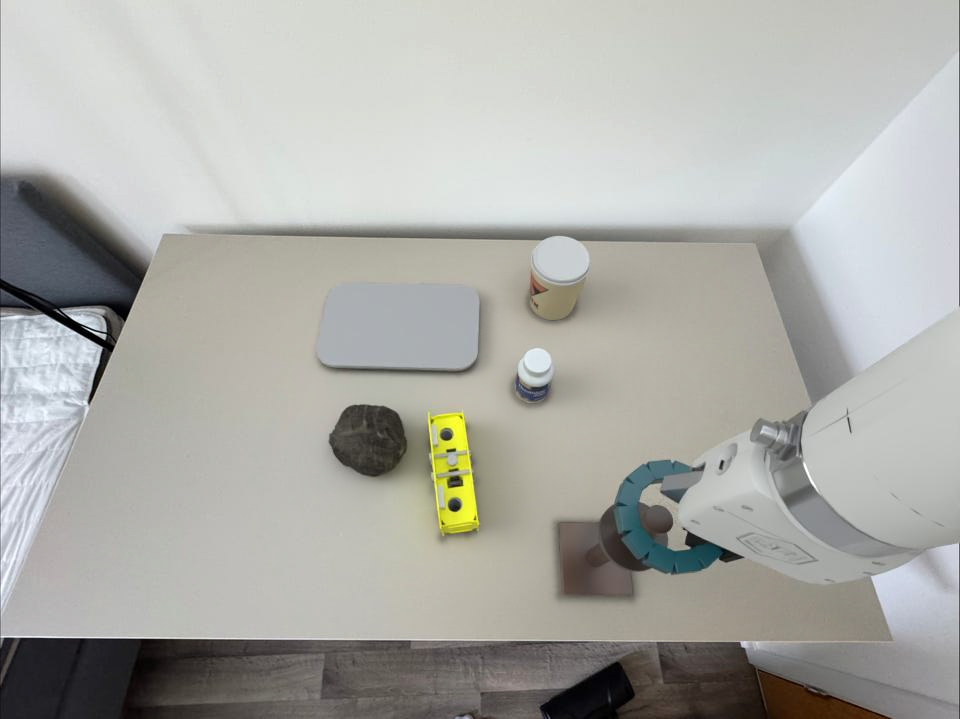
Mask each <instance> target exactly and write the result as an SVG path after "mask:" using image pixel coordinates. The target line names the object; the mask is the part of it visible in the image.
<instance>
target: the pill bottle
mask: <svg viewBox="0 0 960 719" xmlns="http://www.w3.org/2000/svg"><path fill="white" fill-rule="evenodd" d="M552 361H553V360H552V356H551V354H550V353H549V351H547V350H545V349H544V348H541V347H535V348H531V349H529V350H528V351H526V353H525V354H524V356H523V357H521V359H520V361H519V362H518V365H517V370H516V376H515V381H514V391H515V393H516V394H515V395H516V396H517V397H518V398H519V399H520V400H521V401H523V402H525V403H528V404H538V403H541V402H542V401H544V400H545V398H546V397H547V396H548V393H549V391H550V388H551V385H552V381H553V378H554V374H555V366H554V363H553V362H552Z"/></svg>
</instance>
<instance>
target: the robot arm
mask: <svg viewBox="0 0 960 719" xmlns="http://www.w3.org/2000/svg"><path fill="white" fill-rule="evenodd" d="M689 466H690V470H691V471H692V472H688V473H681V474H673V475H666V476H664V479H663V482H662V483H661V486H660V488H659V489H660V490H659V493H660V494H661V495H663V496H665V497H666V498H668V499H670V501H672V502H674V503H676V504H678V506H677V511H676V520H677V522H678V523H679V524H680V525H681V527H682V530H683V531H685V532H686V537H685V540H684V545H685V546H686V547H688V548H692V547H694V546H698V545H702V544H705V543H707V542H712V543H714V544H716V545H718V546H721V547H723V548H725V549H722V552H723V554H722V555H721V556H720V557H719V558H718V560H719V561H721V562H722V563H726V564H727V563H731V562H735V561H738V560H742V559H748V560H750V561H753V562H754V563H757V564H759V565H761V566H764V567H766V568H768V569H771V570H773V571H775V572H778V573H780V574H783V575H785V576H788V577H789V578H792V579H795V580H798V581H800V582H803V583H806V584H810V585H815V586H829V585H830V586H831V585H838V584H842V583H849V582H853V581H858V580H862V579H866V578H870V577H874V576H877V575H881V574H885V573H888V572H890V571H893V570H896V569H897V568H901V567H902V566H904V565H906V564H908V563H910V562H911V561H913V560H915V559H916V558H917V557H919V556H920V555H922V554H923V553H924V552H926V550H930V549H934V548H941V547H947V546H951V545H956V544H957V545H958V544H960V305H959V306H958V307H956V308H954V309H953V310H952V311H950V312H949V313H947V314H946V315H944V316H943V317H941V318H940V319H938V320H936V321H935V322H934V323H932V324H931V325H929V326H928V327H926V328H925V329H923V330H922V331H921V332H919V333H917V334H916V335H915V336H913V337H911V338H910V339H908V340H907V341H905V342H904V343H902V344H901V345H900V346H898V347H896V348H895V349H894V350H892V351H891V352H889V353H888V354H886V355H885V356H883V357H882V358H880V359H878V360H877V361H876V362H874V363H872V364H871V365H870V366H869V367H867V368H865V369H864V370H862V371H861V372H859V373H858V374H857V375H855V376H854V377H852V378H851V379H849V380H848V381H846V382H844V383H843V384H842V385H840V386H839V387H837V388H836V389H833V391H832V392H830V393H828V394H826V395H825V396H824V397H823V398H821V399H819V400H818V401H816V402H814V404H812V405H810V406H809V407H807V408H806V409H802V410H801V411H799V412H798V413H797V414H795V415H793V416H792V417H790V419H787V420H784V419H783V420H782V421H781V422H780V421H778V420H777V421H770V420H768V419H765V418H762V417H759V418H758V419H757V420H756V421H755V422H754V424H753V426H752V428H750V429H748V430H745V431H743V432H740V433H738V434H735V435H734V436H731V437H729V438H727V439H725V440H724V441H721V442H719V443H718V444H716V445H715V446H712V447H710V449H707V451H705V452H704V453H702V454H701V455H699V457H697V458H696V459H695V460H694V461H692V463H691V464H690V465H689Z"/></svg>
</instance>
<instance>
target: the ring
mask: <svg viewBox="0 0 960 719" xmlns="http://www.w3.org/2000/svg"><path fill="white" fill-rule="evenodd" d="M671 460H672V459H661V460H650V461H648V462H646V463H642V464H641V465H639V466H638V467H637V468H635V469H634V470H633V471H632V472H631V473H629V474H628V475H627V476H626V477H625V478H624V479H622V480H623V481H622V482H621V483H620V484H619V487H618V489H617V493H616V496H615V500H614V502H613V504H614V506H615V507H617V508H616V509H615V510H614V516H615V520H616V525H617V529H618V533H619V534H626V535H625V536H624V537H623V538H622V539H621V540H622V541H623V542H624V544H625V545H626V546H627V547H628V549H629V550H630V551H631V552H632V554H633V555H634V556H635V557H636V559H640V558H643V561H642V564H644V565H646V566H649V567H651V569H653V570H655V571H657V572H659V573H662V574H664V575H667V574H670V575H671V576H676V575H685V574H687V575H688V574H695V573H699V572H702V571H703V570H706V569H709V567H711V566H712V565H713V564H714V563H715V562H716V561H717V560H719V557H720V556H721V555H722V554H723V552H722V549H725V548H723V547H721V546H718V545H716V544H714V543H712V542H707V543H705V544H702V545H698V546H694V547H692V548H691V547H689V549H683V550H682V549H681V550H674V549H671V548H669V547H664V546H662V545H660V544H658V543H655V542H654V540H653V539H652V538H651V537H650V536H649V534H648V533H647V532H646V531H645V530H644V528H643V527H642V525H641V521H640V516H639V512H638V508H637V507H638V504H639V502H640V500H641V497H642V493H643V491H644V490H645V489H647V488H648V487H649V486H650V485H656V484H657V485H658V484H662V482H663V479H664V476H666V475H673V474H681V473H688V472H692V471H691V470H690V465H688V464H685V463H683V462H681V461H678V460H674V461H673V462H672V461H671Z"/></svg>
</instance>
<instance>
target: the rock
mask: <svg viewBox="0 0 960 719" xmlns="http://www.w3.org/2000/svg"><path fill="white" fill-rule="evenodd" d="M405 433H406V432H405V428H404V424H403V420H402V419H401V417H400V415H399V413H398V412H397V411H395V410H394V409H392V408H390V407H388V406H385V405H372V404H371V405H370V404H367V403H365V404H361V403H360V404H351V405H349V406H347V407H345V409H343V411H342V412H341V414H340V415H339V419H338V420H337V422H336V424H335V426H334V429H332V432H330V433H329V434H328V444H329V445H330V447H331V450H332V453H333V455H334V457H335V459H336V460H338V462H340V463H341V465H342V466H345V467H347V468H351V469H352V470H354V472H356V473H358V474H360V475H362V476H366V477H372V478H375V477H379V476H382V475H384V474H385V473H389V472H390V471H392V470H393V469H395V468H396V467H397V466H398V465H399V464H400V462H401V460H402V458H403V456H404V455H406V452H407V450H408V439H407V437H406V434H405Z"/></svg>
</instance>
